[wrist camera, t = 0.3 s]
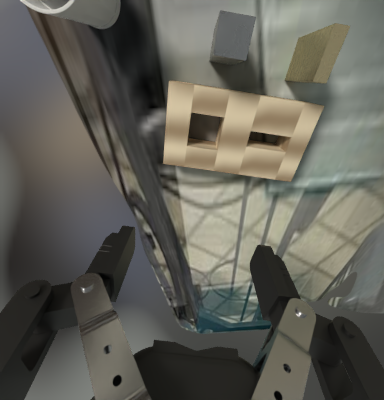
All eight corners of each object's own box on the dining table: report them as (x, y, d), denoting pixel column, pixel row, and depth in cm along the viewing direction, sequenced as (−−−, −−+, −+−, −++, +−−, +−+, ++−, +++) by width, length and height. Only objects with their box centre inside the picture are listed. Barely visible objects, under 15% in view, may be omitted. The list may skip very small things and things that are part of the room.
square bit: (214, 30, 28) (220, 10, 20) (239, 35, 28) (256, 16, 20) (209, 61, 30) (213, 55, 22) (232, 65, 30) (246, 60, 22)
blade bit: (298, 38, 28) (335, 23, 21) (309, 39, 28) (350, 26, 21) (284, 80, 31) (312, 81, 23) (294, 82, 31) (326, 83, 24)
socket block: (173, 80, 32) (168, 80, 27) (308, 102, 33) (324, 105, 28) (167, 153, 38) (163, 163, 34) (280, 170, 39) (290, 181, 35)
